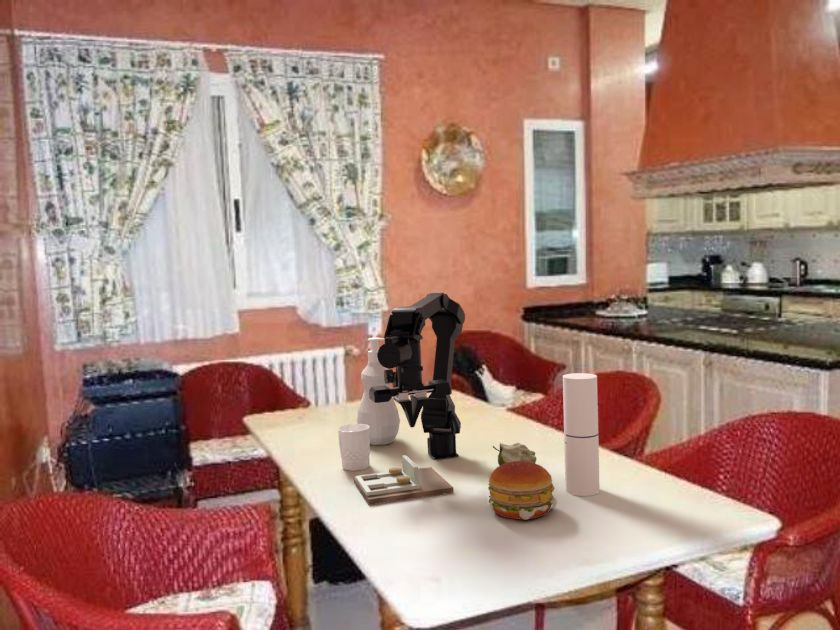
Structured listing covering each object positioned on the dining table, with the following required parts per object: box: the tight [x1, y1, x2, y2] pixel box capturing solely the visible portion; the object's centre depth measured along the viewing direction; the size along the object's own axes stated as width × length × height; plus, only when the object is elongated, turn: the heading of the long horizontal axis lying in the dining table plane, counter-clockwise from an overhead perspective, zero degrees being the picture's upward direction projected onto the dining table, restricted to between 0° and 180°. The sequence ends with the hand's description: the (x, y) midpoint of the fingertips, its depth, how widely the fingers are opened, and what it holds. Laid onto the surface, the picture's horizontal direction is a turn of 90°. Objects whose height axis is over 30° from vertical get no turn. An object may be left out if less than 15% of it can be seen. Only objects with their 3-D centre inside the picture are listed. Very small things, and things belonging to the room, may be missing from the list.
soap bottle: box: [356, 337, 401, 446], centre depth 200 cm, size 17×12×29 cm
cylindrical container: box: [562, 372, 601, 497], centre depth 152 cm, size 7×7×25 cm
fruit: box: [492, 442, 537, 467], centre depth 169 cm, size 9×9×8 cm
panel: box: [355, 454, 420, 496], centre depth 159 cm, size 12×12×4 cm
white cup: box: [337, 423, 371, 472], centre depth 177 cm, size 8×8×10 cm
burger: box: [487, 461, 557, 520], centre depth 143 cm, size 13×14×10 cm
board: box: [352, 466, 454, 506], centre depth 161 cm, size 19×16×3 cm
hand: (412, 426), depth 167 cm, fingers closed
